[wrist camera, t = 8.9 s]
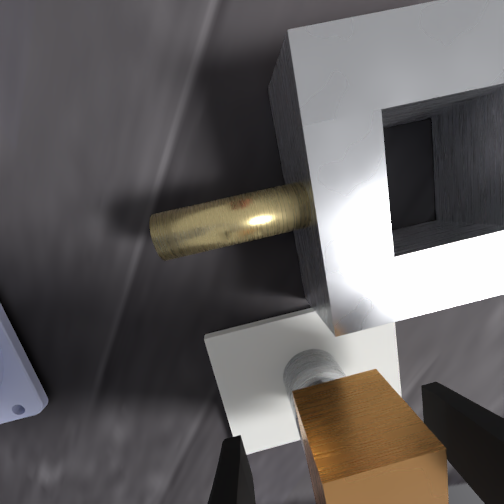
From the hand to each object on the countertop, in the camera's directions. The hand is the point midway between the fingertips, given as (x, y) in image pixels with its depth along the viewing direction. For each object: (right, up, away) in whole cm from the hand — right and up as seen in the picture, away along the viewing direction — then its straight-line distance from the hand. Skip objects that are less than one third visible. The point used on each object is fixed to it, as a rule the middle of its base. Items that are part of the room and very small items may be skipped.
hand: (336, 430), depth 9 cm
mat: (0, +1, +3) cm, 3 cm away
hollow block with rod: (0, +9, +1) cm, 9 cm away
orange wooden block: (0, +1, +3) cm, 3 cm away
